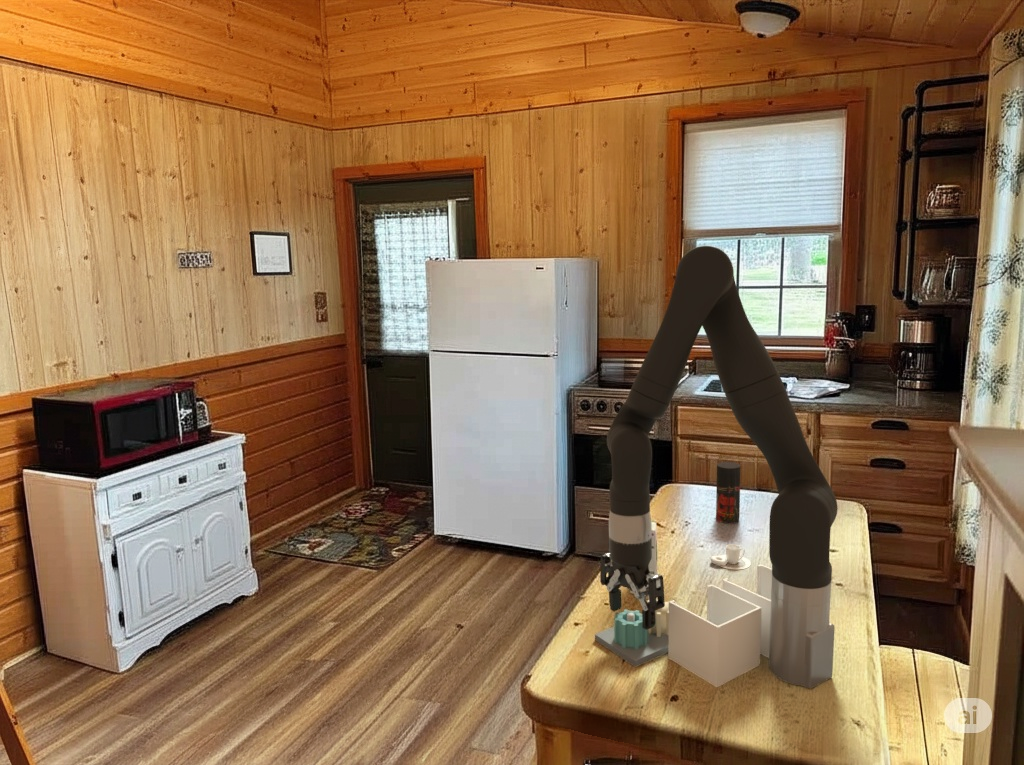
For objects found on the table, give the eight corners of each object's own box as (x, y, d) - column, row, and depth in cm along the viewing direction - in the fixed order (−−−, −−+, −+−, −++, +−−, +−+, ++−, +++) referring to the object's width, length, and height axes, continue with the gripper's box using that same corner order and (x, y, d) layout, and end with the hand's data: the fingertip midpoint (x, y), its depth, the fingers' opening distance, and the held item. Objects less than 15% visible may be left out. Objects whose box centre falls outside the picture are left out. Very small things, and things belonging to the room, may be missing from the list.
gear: (654, 641, 132) (654, 619, 131) (629, 652, 129) (629, 629, 128) (632, 628, 137) (632, 606, 136) (608, 638, 134) (607, 615, 133)
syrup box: (657, 595, 152) (657, 530, 149) (628, 594, 153) (628, 529, 150) (657, 583, 157) (657, 520, 155) (629, 581, 159) (629, 519, 156)
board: (693, 641, 134) (693, 607, 133) (635, 667, 126) (634, 631, 125) (651, 617, 143) (651, 585, 142) (594, 640, 136) (594, 606, 134)
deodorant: (711, 517, 194) (712, 463, 192) (730, 514, 196) (731, 460, 193) (724, 524, 189) (725, 469, 186) (743, 521, 190) (745, 466, 188)
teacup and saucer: (709, 569, 164) (710, 552, 164) (712, 554, 172) (712, 538, 171) (750, 573, 162) (750, 556, 161) (751, 558, 169) (751, 542, 168)
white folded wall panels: (716, 688, 120) (717, 627, 118) (668, 658, 129) (668, 601, 127) (809, 640, 133) (811, 584, 131) (759, 616, 142) (761, 564, 141)
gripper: (674, 540, 125) (675, 627, 128) (618, 518, 137) (620, 598, 139) (642, 551, 121) (644, 641, 124) (588, 527, 133) (590, 609, 135)
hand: (631, 618), depth 132 cm, fingers open, 8 cm apart
